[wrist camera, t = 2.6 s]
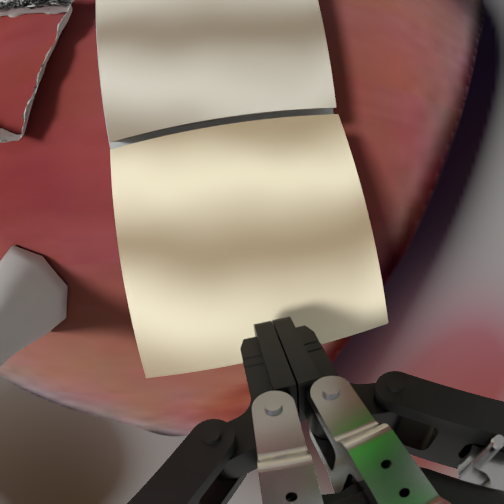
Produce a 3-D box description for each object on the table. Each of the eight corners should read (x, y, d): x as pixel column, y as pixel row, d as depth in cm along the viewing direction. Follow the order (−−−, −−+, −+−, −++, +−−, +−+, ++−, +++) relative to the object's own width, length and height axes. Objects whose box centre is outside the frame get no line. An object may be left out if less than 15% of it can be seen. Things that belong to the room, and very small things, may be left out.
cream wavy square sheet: (119, 160, 14) (110, 149, 13) (329, 126, 16) (338, 114, 14) (153, 368, 14) (146, 378, 12) (374, 319, 15) (388, 323, 13)
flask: (55, 342, 20) (15, 436, 10) (-9, 295, 17) (-69, 371, 8) (83, 282, 18) (26, 386, 9) (9, 226, 15) (-78, 296, 6)
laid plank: (103, -20, 10) (96, -30, 8) (296, -43, 11) (303, -53, 10) (117, 141, 14) (109, 142, 13) (325, 109, 15) (336, 107, 14)
